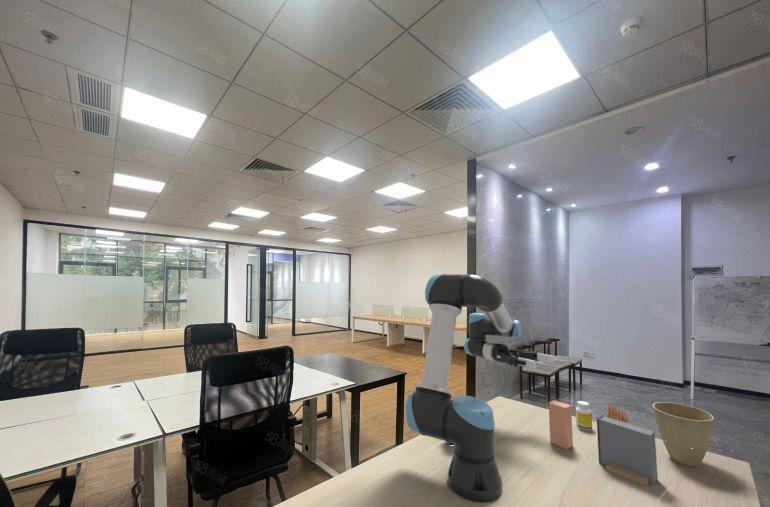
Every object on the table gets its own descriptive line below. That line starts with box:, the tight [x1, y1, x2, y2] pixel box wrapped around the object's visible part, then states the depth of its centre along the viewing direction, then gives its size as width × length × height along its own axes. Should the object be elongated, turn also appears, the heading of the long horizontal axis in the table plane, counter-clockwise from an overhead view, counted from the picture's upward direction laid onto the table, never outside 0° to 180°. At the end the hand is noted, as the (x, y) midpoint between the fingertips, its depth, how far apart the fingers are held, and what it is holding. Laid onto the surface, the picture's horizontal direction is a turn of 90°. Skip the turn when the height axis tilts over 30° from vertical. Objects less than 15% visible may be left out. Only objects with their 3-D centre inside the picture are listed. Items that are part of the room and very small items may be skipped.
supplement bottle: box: [575, 400, 593, 431], centre depth 130 cm, size 5×5×10 cm
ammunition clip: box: [606, 402, 629, 424], centre depth 120 cm, size 11×2×12 cm, turn 178°
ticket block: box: [596, 414, 659, 487], centre depth 101 cm, size 14×9×14 cm, turn 36°
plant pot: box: [652, 401, 715, 468], centre depth 107 cm, size 15×15×16 cm
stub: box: [548, 399, 574, 450], centre depth 117 cm, size 6×4×14 cm, turn 36°
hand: (544, 362), depth 122 cm, fingers open, 13 cm apart
